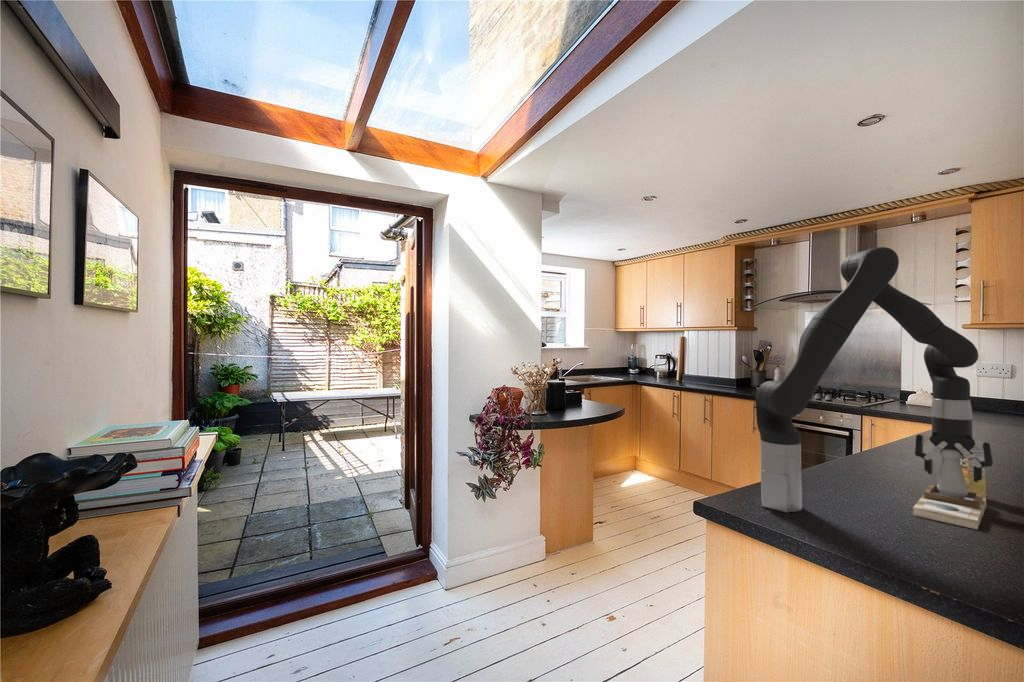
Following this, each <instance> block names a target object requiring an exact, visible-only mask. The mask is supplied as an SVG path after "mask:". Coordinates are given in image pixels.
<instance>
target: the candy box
mask: <svg viewBox="0 0 1024 682" xmlns="http://www.w3.org/2000/svg"><path fill="white" fill-rule="evenodd" d="M970 451H971V452H972V453H973V454H974V455H975V456H976V457H977V458H978V459H979V460H980V461H985V459H984V451H982V450H980V449H979V447H978V446H976V445H975V446H974V447H973V448H972V449H971V450H970ZM959 460H960V464H961V468H962V471H963V475H964V478H965V481H966V485H967V488H968V491H970V492H976V493H981V494H983V499H986V496H987V495H986V493H987V491H986V489H987V488H986V484H987V483H986V478H987V477H986V467H983V468H982V479H981V480H978V482H974V469H973V467H974V466H975V465H974V464H973V463H972V462H971V461H970V460H968V459H967V458H966V457H965V456H964V455H963V458H962V459H959ZM986 500H987V499H986Z"/></svg>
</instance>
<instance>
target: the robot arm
mask: <svg viewBox="0 0 1024 682" xmlns="http://www.w3.org/2000/svg"><path fill="white" fill-rule="evenodd" d="M899 262H900V259H899V256H898V254H897V253H896V251H895V250H893V249H892V248H890V247H885V246H883V247H881V246H880V247H879V246H878V247H872V248H868V249H866V250H865V249H864V250H862V251H858V252H855V253H853V254H849V255H848V256H846V257H844V259H843V260H842V262H841V264H840V274H841V276H842V278H843V279H844V281H846V282H847V283H848V284H847V285H846V286H845V288H843V290H841V292H840V293H838V295H836V296H835V297H834V298H833V299H831V300H830V301H829V302H828V303H827V304H824V306H823V307H822V308H821V309H819V310H818V311H817V312H816V314H815V315H814V316H813V317H812V318H811V320H810V321H809V323H808V325H807V326H806V327H805V329H804V331H803V332H802V334H801V336H800V340H799V344H798V349H797V350H798V351H797V356H796V360H795V363H794V365H792V368H791V369H790V370H789V372H788V374H787V375H786V376H785V377H784V378H783V380H767V381H765V382H763V383H761V384H760V386H759V387H758V389H757V391H756V395H755V413H756V414H755V416H756V425H757V426H756V427H757V429H758V432H759V437H760V439H759V441H760V489H761V490H760V492H761V493H760V494H761V495H760V496H761V506H762V507H764V508H768V509H772V510H774V511H775V510H776V511H779V512H783V513H787V514H788V513H790V512H792V513H793V512H801V511H802V509H803V501H802V500H803V492H802V444H801V443H802V436H801V433H800V431H799V430H798V429H797V427H795V424H793V423H794V422H793V420H792V418H794V417H797V416H799V415H800V414H802V413H803V412H804V410H805V409H806V407H807V406H808V405H809V402H810V400H811V398H812V396H813V395H814V392H815V391H816V388H817V386H818V385H819V383H820V380H821V379H822V377H823V375H824V374H825V372H826V370H828V368H829V366H830V365H831V364H832V362H833V360H834V359H835V357H836V356H837V354H838V353H839V352H840V350H841V349H842V348H843V346H844V344H845V343H846V342H847V340H848V338H849V337H850V336H851V334H852V333H853V331H854V328H856V326H857V324H858V323H859V322H860V320H861V318H862V317H863V316H864V315H865V313H866V312H867V310H868V309H869V307H870V306H871V304H872V303H875V304H876V305H877V306H878V307H880V308H881V310H883V311H885V313H887V314H888V315H890V317H892V318H893V319H894V320H895V321H896V322H897V323H898V324H899V325H900V326H901V328H903V330H905V331H906V333H907V334H908V335H909V336H910V337H911V338H913V340H915V341H916V342H917V343H919V344H924V345H927V346H926V347H925V350H924V352H923V359H924V364H925V367H926V370H927V373H928V375H929V377H930V378H929V379H930V380H931V384H932V400H931V401H932V402H931V435H925V434H923V433H917V434H916V436H915V446H914V447H915V448H914V449H915V450H914V454H915V457H919V458H922V459H923V461H924V466H923V467H924V468H923V469H924V472H927V474H928V475H932V474H933V472H934V471H933V459H932V458H933V457H935V456H936V455H937V454H938V453H940V451H941V450H943V449H950V450H956V451H958V452H960V454H961V455H964V456H965V457H966V458H967V459H968V460H970V461H971V462H972V463H973V464H974V465H975V466H974V467H973V469H974V482H978V480H981V479H982V468H983V467H985V468H987V467H989V468H991V467H992V466H993V464H994V463H993V462H994V461H993V454H992V453H993V451H992V444H991V442H990V441H989V440H987V441H975V440H974V437H973V408H972V404H971V383H970V381H969V380H968V378H966V377H963V376H959V375H958V374H957V373H956V371H955V369H954V368H958V369H961V368H962V369H963V368H964V369H965V368H969V367H972V366H974V364H976V363H977V361H978V359H979V351H978V349H977V347H976V345H975V344H974V343H973V342H972V341H971V340H970V339H968V338H967V337H965V336H964V335H962V334H961V333H959V332H957V331H956V330H954V329H952V328H950V327H949V326H947V325H945V323H944V322H943V321H942V320H941V319H940V318H939V317H938V316H937V315H936V314H935V313H934V312H933V310H931V309H930V308H929V307H928V306H926V304H924V303H923V302H921V301H919V300H918V299H915V298H914V297H911V296H909V295H908V294H906V293H904V292H901V291H900V290H898V289H897V288H895V287H894V286H893V285H891V284H890V281H891V280H892V279H893V278H894V277H895V275H896V273H897V271H898V268H899V264H900V263H899ZM928 441H930V443H932V445H933V446H934V447H933V448H932V449H931V450H930V451H929V452H928V453H925V452H924V449H923V448H924V444H926V443H927V442H928ZM975 445H976V446H978V447H979V449H980V450H982V451H984V459H985V461H980V460H979V459H978V458H977V457H976V456H975V455H974V454H973V453H972V452H971V451H970V450H971V449H972V448H973V447H974V446H975Z"/></svg>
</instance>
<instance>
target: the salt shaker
mask: <svg viewBox="0 0 1024 682" xmlns="http://www.w3.org/2000/svg"><path fill="white" fill-rule="evenodd" d="M939 456H940V457H941V458H942V460H941V465H940V470H939V476H938V480H937V485H936V486H937V488H938V490H939V492H940V494H941V495H946V496H951V497H957V498H962V499H964V498H965V497H966V496H967V494H968V492H969V491H968V488H967V485H966V481H965V478H964V475H963V471H962V468H961V464H960V460H959V459H962V458H963V455H961V454H960V452H958V451H956V450H950V449H943V450H941V451H939Z"/></svg>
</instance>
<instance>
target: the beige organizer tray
mask: <svg viewBox="0 0 1024 682" xmlns="http://www.w3.org/2000/svg"><path fill="white" fill-rule="evenodd" d="M986 508H987V499H983V494H981V493H976V492H970V491H969V492H968V494H967V496H966V497H965V498H964V499H962V498H957V497H951V496H946V495H941V494H940V492H939V490H938V488H937V485H935V484H929V485H928V486H927V488H926V489H924V491H923V495H922V496H921V497H920V498H919V500H918V501H917V502H916V503H915V504H914V506H913V507H912V515H913V516H915V517H919V518H922V519H923V518H924V519H928V520H932V521H937V522H942V523H946V524H951V525H956V526H959V527H960V526H961V527H964V528H969V529H974V530H978V529H979V527H980V524H981V522H982V518H983V517H984V514H985V511H986Z"/></svg>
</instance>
